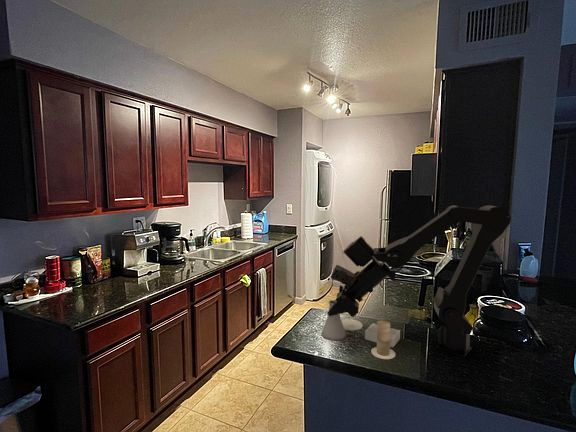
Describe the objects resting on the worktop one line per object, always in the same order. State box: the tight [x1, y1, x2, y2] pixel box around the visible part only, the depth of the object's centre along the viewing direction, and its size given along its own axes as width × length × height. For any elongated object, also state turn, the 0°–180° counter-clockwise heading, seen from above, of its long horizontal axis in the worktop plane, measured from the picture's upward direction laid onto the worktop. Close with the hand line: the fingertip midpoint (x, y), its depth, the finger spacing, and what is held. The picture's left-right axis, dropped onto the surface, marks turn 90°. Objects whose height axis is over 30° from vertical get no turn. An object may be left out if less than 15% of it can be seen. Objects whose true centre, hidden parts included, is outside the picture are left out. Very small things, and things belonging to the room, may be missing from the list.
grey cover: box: [364, 322, 401, 348], centre depth 87 cm, size 8×6×3 cm
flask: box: [321, 299, 347, 341], centre depth 90 cm, size 7×7×10 cm
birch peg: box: [376, 319, 391, 356], centre depth 80 cm, size 3×3×8 cm
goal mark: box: [341, 318, 363, 331], centre depth 97 cm, size 8×8×1 cm
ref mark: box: [370, 346, 396, 360], centre depth 80 cm, size 6×6×1 cm
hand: (328, 312), depth 90 cm, fingers closed on flask, 3 cm apart
